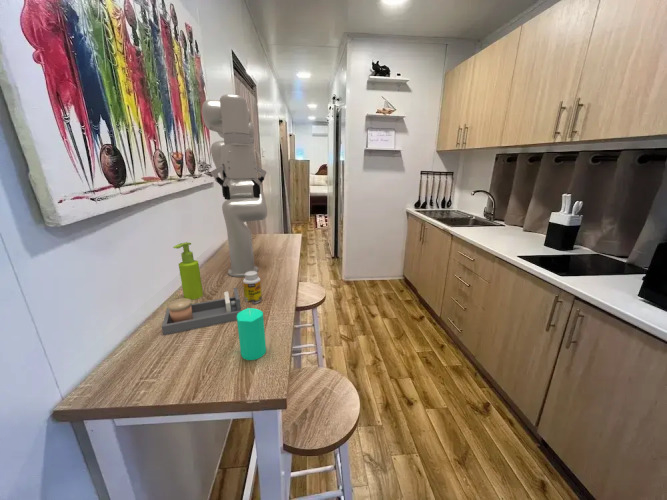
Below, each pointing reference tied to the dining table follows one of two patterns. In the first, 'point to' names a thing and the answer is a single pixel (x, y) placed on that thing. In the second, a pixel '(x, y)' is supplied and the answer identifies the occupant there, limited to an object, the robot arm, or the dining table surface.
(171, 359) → the dining table surface
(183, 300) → the beige round container
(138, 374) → the dining table surface
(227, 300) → the pusher paddle
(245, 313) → the candle
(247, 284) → the supplement bottle
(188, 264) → the soap dispenser
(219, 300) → the pusher lane
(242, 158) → the robot arm
